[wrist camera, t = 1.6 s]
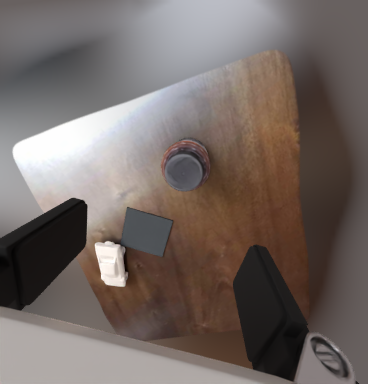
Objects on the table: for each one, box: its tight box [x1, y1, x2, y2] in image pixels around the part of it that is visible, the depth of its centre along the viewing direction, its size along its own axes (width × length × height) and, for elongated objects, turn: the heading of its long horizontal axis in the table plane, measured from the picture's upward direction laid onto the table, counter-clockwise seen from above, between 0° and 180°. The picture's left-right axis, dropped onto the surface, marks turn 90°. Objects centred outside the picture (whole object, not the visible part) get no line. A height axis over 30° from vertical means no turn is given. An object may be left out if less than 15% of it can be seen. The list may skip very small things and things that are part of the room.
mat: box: [121, 207, 173, 257], centre depth 34 cm, size 9×9×1 cm
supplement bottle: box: [161, 138, 210, 191], centre depth 23 cm, size 6×6×11 cm
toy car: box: [95, 241, 128, 287], centre depth 36 cm, size 6×12×3 cm, turn 178°
